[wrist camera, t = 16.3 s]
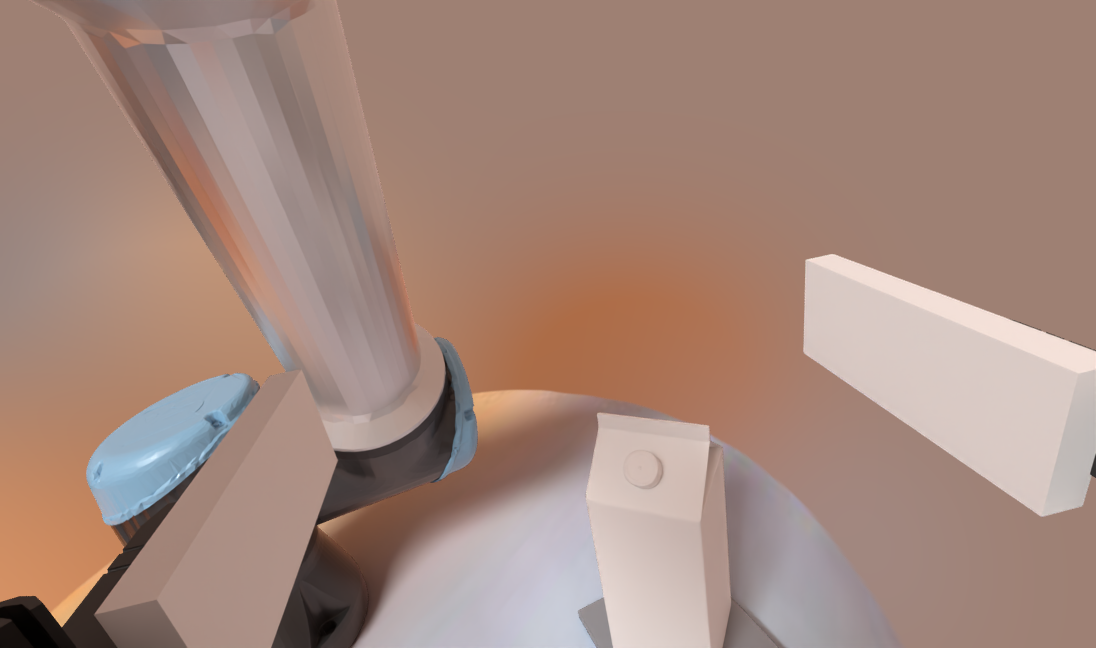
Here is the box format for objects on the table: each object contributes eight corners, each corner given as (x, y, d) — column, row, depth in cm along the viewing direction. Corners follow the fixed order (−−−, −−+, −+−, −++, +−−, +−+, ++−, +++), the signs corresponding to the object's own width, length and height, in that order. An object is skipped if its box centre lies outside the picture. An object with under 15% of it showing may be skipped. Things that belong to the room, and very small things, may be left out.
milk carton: (643, 581, 44) (615, 385, 37) (731, 605, 41) (720, 395, 34) (614, 659, 38) (574, 445, 31) (714, 694, 35) (695, 464, 28)
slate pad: (579, 617, 43) (578, 610, 43) (689, 559, 46) (689, 552, 46) (656, 752, 33) (655, 744, 33) (788, 665, 37) (788, 658, 36)
